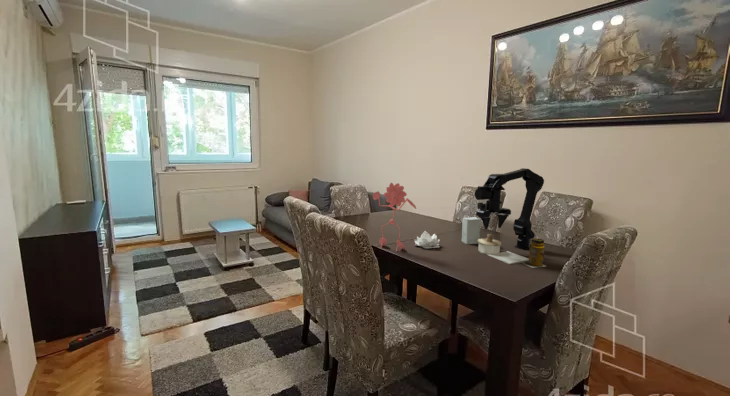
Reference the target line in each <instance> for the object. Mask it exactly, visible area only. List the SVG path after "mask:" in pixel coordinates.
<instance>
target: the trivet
mask: <svg viewBox="0 0 730 396" xmlns="http://www.w3.org/2000/svg"><path fill="white" fill-rule="evenodd" d="M486 255H487V256H489V257H491V258H494V259H496V260H499V261H501V262H503V263H505V264H508V265H513V264H514V265H515V264H519V263H521V262H529V257H525V256H522V255H519V254H517V253H513V252H511V251H508V250H507V251H500V252H499V253H498V254H486Z"/></svg>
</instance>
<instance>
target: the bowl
mask: <svg viewBox="0 0 730 396" xmlns="http://www.w3.org/2000/svg"><path fill="white" fill-rule="evenodd" d="M500 248H501V245H500V246H487V245H483V244H480V243H479V244H478V252H479V253H481V254H485V255H487V254H498V253H499V252H501V249H500Z"/></svg>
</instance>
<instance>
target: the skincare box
mask: <svg viewBox="0 0 730 396" xmlns="http://www.w3.org/2000/svg"><path fill="white" fill-rule="evenodd" d="M481 221H482V219H481V218H480V217H476V216H474V217H473V216H472V217H462V223H461V224H462V225H461V226H462V227H461V242H462V243H464V244H465V245H477V244H478V245H479V243H478V239H481V238H480V235H481Z"/></svg>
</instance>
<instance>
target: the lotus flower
mask: <svg viewBox="0 0 730 396" xmlns="http://www.w3.org/2000/svg"><path fill="white" fill-rule="evenodd" d="M414 243H415V244H414V245H415V246H419V247H421V248H423V249H432V248H433V249H436V248H437V249H438V248H440V247H441V246H439V245H440V244H439V243H440V239H438V237H437V234H436V233H434V234H432V235H431V234H430V233H429V232H427V231H426V230H424V231H423V232H422V234H421V235H420V237H419V236H418V235H416V239H415V240H414Z"/></svg>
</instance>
